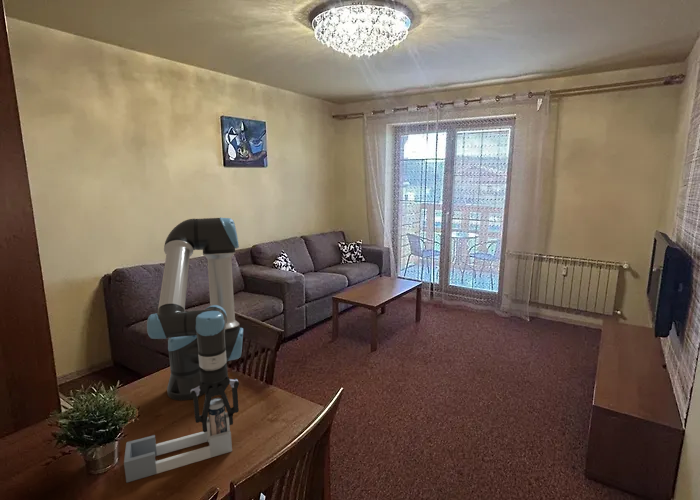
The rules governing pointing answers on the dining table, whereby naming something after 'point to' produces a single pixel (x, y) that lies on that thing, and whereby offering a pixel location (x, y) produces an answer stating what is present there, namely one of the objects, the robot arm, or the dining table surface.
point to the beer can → (217, 416)
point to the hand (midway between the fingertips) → (218, 437)
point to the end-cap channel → (145, 449)
